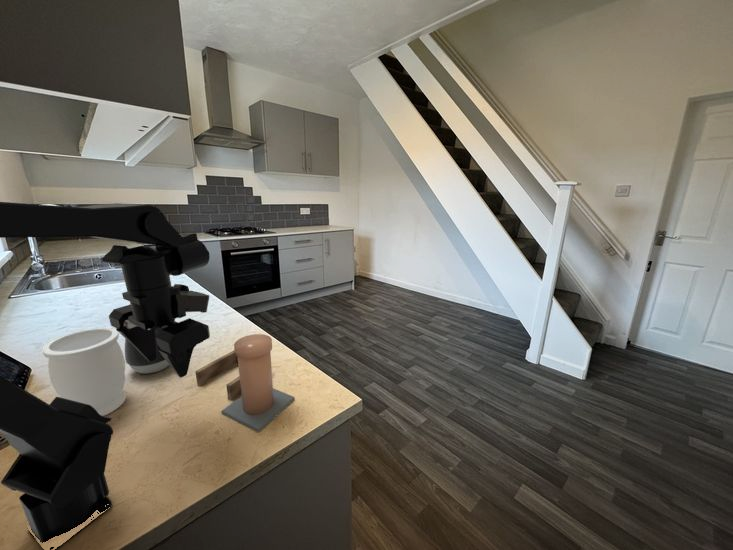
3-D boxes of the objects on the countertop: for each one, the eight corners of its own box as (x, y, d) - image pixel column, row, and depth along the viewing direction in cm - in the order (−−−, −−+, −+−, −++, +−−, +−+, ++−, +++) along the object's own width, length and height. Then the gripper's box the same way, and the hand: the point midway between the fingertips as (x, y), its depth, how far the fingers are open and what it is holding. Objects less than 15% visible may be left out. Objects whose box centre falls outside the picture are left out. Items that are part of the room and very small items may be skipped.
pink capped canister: (249, 421, 54) (243, 355, 51) (235, 403, 59) (228, 341, 55) (281, 404, 59) (278, 342, 55) (266, 388, 64) (262, 331, 60)
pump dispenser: (146, 356, 76) (135, 302, 72) (187, 355, 77) (179, 302, 73) (116, 380, 66) (102, 319, 62) (164, 379, 67) (153, 319, 63)
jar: (63, 405, 58) (43, 337, 54) (128, 383, 65) (115, 322, 61) (62, 436, 51) (39, 361, 47) (136, 408, 58) (121, 340, 54)
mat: (259, 432, 53) (258, 429, 53) (221, 413, 57) (221, 410, 57) (294, 399, 62) (294, 396, 61) (259, 385, 66) (259, 382, 66)
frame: (231, 400, 61) (229, 386, 60) (197, 384, 65) (195, 371, 64) (269, 373, 70) (268, 360, 69) (237, 361, 75) (236, 349, 74)
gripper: (232, 280, 49) (242, 360, 53) (168, 264, 57) (181, 334, 62) (162, 302, 39) (181, 397, 44) (97, 279, 47) (119, 361, 52)
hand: (167, 367), depth 51 cm, fingers open, 9 cm apart
